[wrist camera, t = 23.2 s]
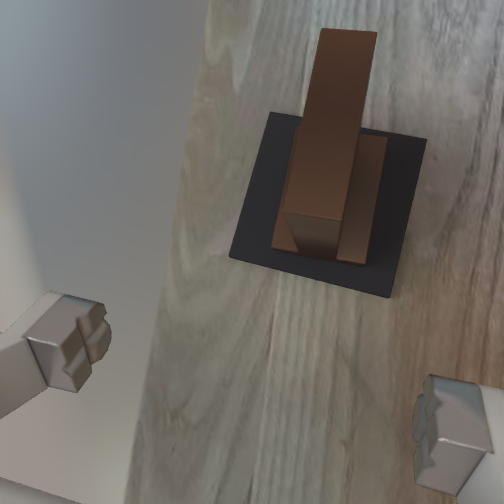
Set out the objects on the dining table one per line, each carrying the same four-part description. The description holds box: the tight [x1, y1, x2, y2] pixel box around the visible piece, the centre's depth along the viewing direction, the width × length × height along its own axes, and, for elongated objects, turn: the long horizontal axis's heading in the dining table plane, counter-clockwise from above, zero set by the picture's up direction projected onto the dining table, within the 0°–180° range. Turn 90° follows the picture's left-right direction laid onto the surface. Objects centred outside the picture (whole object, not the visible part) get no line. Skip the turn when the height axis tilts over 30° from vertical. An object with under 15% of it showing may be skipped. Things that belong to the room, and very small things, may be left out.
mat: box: [229, 112, 427, 298], centre depth 23 cm, size 9×9×1 cm
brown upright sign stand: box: [271, 28, 388, 267], centre depth 19 cm, size 7×5×9 cm
